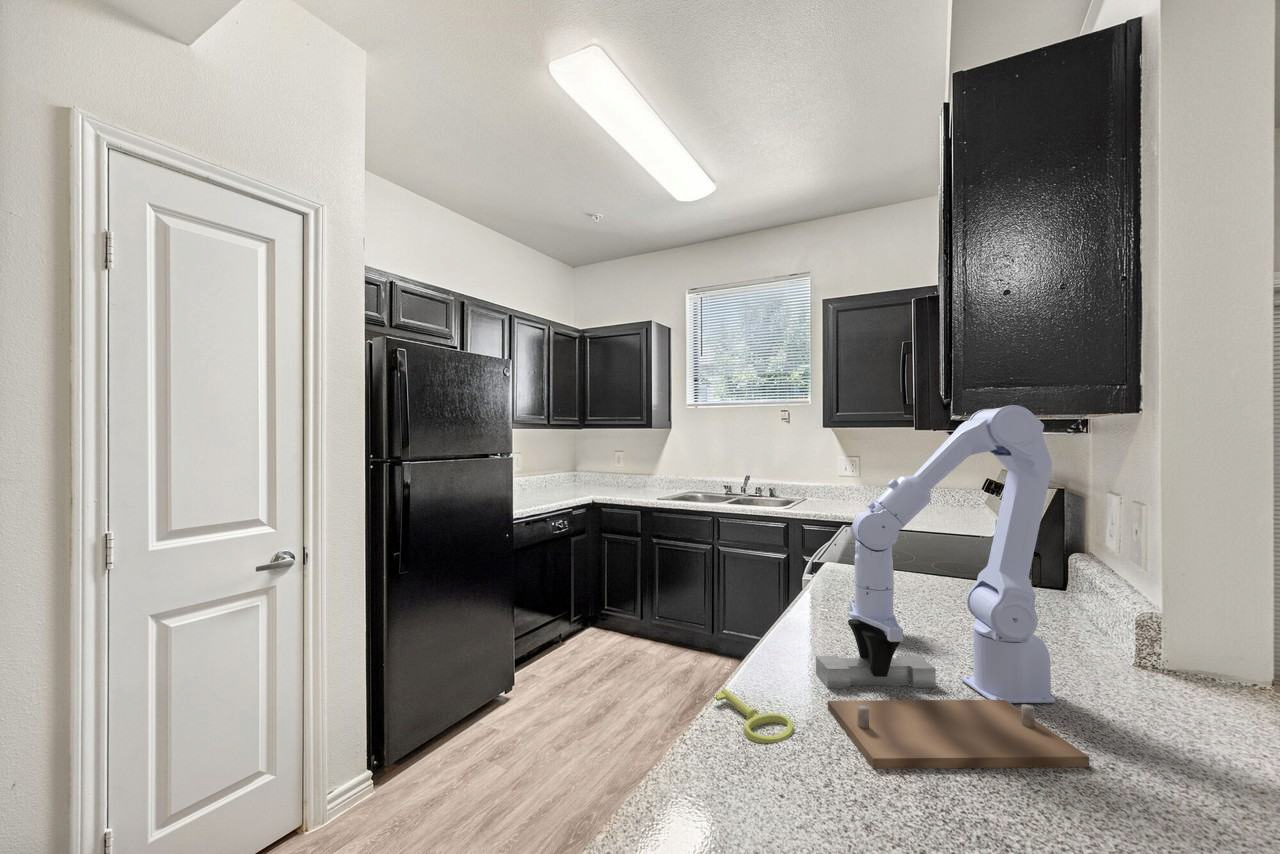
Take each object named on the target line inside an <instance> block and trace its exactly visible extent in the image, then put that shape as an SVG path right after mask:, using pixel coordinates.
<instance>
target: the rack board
mask: <svg viewBox="0 0 1280 854" xmlns="http://www.w3.org/2000/svg"><path fill="white" fill-rule="evenodd" d="M1020 706H1021V707H1020V708H1018V707H1017V706H1015V705H1014V704H1013V703H1009V702H1008V701H1006V700H989V699H916V700H915V699H904V700H903V699H901V700H900V699H898V700H897V699H895V700H894V699H892V700H889V699H888V700H885V699H884V700H883V699H882V700H881V699H880V700H878V699H877V700H874V699H873V700H872V699H871V700H863V699H860V700H827V710H828V711H829V713H830V714H831V715H832V717H833V718H834V720H836V722H837V723H838V724H839V726H840V727H841V728H842V730H843V731H844V733H846V735H847V737H848V738H849V739H850V740H851V742H852V743H853V744H854V745H855V747H856V748H857V750H858V752H860V753H861V755H862V756H863V758H864V759H865V760H866V761H867V763H868V764H869V765H870V767H871V768H872V769H875V770H880V769H881V770H883V769H884V770H888V769H889V770H893V769H896V770H897V769H899V770H900V769H990V768H991V769H993V768H995V769H996V768H997V769H998V768H999V769H1002V768H1003V769H1005V768H1007V769H1008V768H1013V769H1014V768H1015V769H1017V768H1021V769H1022V768H1089V767H1090V756H1089V755H1087V754H1086V753H1085V752H1083V751H1081V750H1080V749H1078V748H1077V747H1076V746H1074V745H1073V744H1071V743H1070V742H1068V741H1067V740H1066V739H1064V738H1063V737H1061V736H1060V735H1058V734H1057V733H1055V732H1053V731H1052V730H1051V729H1049V728H1048V727H1046V726H1045V725H1044V724H1041V723H1040V722H1038V720H1036V719H1035V715H1036V714H1035V707H1034V706H1032V705H1030V704H1027V703H1021V705H1020Z"/></svg>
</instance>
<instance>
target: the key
mask: <svg viewBox="0 0 1280 854" xmlns="http://www.w3.org/2000/svg"><path fill="white" fill-rule="evenodd" d="M716 694H717V693H713V695H712V697H713V698H714V696H715V695H716ZM714 699H715V700H716V701H717V702H720V701H723V700H726V701H727V702H728V703H729V704H730V705H732V706H733V707H734V708H735V709H737V711H739V712H740V713H742V715H743V716H745V717H746V722H745V723H744V727H743V734H744V736H745V738H747V739H749V741H753V742H755V743H758V744H759V743H761V744H772V743H777V742H778V743H779V742H781V741H784V740H786V739H788V738H790V737H792V735H793V734H794V730H795V729H794V724H793V722H792V720H791V719H790V718H789V717H788V716H786V715H783V714H780V713H773V712H772V713H771V712H770V713H764V714H762V713H761V714H759V711H758V710H757V709H756V708H751V707H749V706H748V705H747V704H746V703H744V702H743V701H742V700H741V699H740V698H739V697H737V696H736V695H734V694H733V693H732V692H730V690H728V689H727V688H722V689H721V691H720V692H718V694H717V695H716V697H715V698H714ZM770 723H771V724H772V723H777V724H783V725H784V726H785V727H786V728H785V730H783V731H782V732H780V733H776V734H774V735H762V734H757V733H756V732H754V731H752V729H753V728H756V727H758V726H761V725H765V724H770Z"/></svg>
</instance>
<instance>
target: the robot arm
mask: <svg viewBox="0 0 1280 854" xmlns="http://www.w3.org/2000/svg"><path fill="white" fill-rule="evenodd" d="M1044 428H1045V424H1044V423H1043V422H1042V421H1041V420H1040V419H1039V418H1038V417H1037V416H1036V415H1035V414H1034V413H1033V412H1032V411H1031V410H1029V409H1028V408H1026V407H1024V406H1022V405H1016V404H1014V405H1012V404H1010V405H1006V406H1002V407H998V408H982V409H979V410H978V411H975V412H974V413H972V414H971V416H970V418H969V419H968V420H965V421H964V422H962V423H961V424H959V425H958V427H957V428H956V429H955V430H954V431H953V433H951V435H950V436H948V437H947V439H946V440H945V441H944V442H943V443H942V444H941V445H940V446H939V447H938V448H937V449H936V450H935V452H934V453H933V454H931V456H930V457H929V458H928V459H927V460H926V461H925V462H924V463H923V465H922V466H921V467H920V468H919V469H918V470H917V471H916V472H915V473H914V474H913V475H902V476H900V477H899V478H897V480H896V479H895V478H894V479H893V478H892V479H890V480H889V482H888V483H887V484H886V485H887V486H888V488H887V489H886V490H885V491H884V492H883V493H882V494H881V495H880V496H878V498H877V499H876V500H875V501H874V502H872V501H870V502H869V503H868V504H867V505H866V507H867V508H868V509H869V510H865V511H863V510H862V511H860V512H858V513H857V514H856V516H855V517H854V518H853V520H852V524H851V525H850V531H851V535H852V536H853V538H854V539H856V540H855V541H854V543H855V546H854V549H855V554H854V599H849V600H848V602H849V603H848V606H849V607H848V610H849V611H847V616H848V618H849V619H848V620H847V624H848V626H849V628H850V629H851V631H852V634H853V636H854V638H855V642H856V646H857V650H858V655H859V658H870V665H871V671H872V674H873V676H874V677H887V675H888V671H889V668H890V664H891V660H892V658H894V654H895V652H896V650H897V648H898V646H899V645H900V644H901V643H902V642H904V628H902V627H901V626H900V624H899V623H898V620H897V618H896V615H895V614H894V596H893V571H894V567H893V566H894V559H893V545H895V544H896V543H897V542H898V539H899V531H900V530H902V529H904V528H905V527H906V526H907V525H908V524H909V523H910V522H911V521H912V519H914V518H915V517H916V516H917V515H918V514H919V513H920V512H921V511H922V510H923V509H924V508H925V507H927V506H928V505H929V504H930V503H931V497H932V496H931V492H932V489H933V488H934V487H935V486H936V485H938V484H939V483H940V482H941V481H942V480H943V479H944V478H946V477H947V476H948V475H949V474H950V473H951V472H952V471H954V470H955V469H956V468H957V467H958V466H960V464H962V463H963V462H964V461H966V460H967V459H968V458H969V457H970V456H973V455H978V454H982V453H986V452H990V453H991V454H992V455H994V456H995V457H996V458H997V459H998V461H1000V463H1001V464H1002V465H1003V466H1004V467H1005V468H1006V470H1007V473H1006V476H1005V477H1006V478H1005V482H1004V487H1003V491H1002V497H1001V501H1000V506H999V510H998V515H997V520H996V525H995V529H994V530H995V531H994V534H993V539H992V543H991V549H990V551H989V552H990V553H989V556H988V562H987V565H986V566H985V567H984V568H983V569H982V570H981V571H980V572H979V573H978V575H977V579H976V582H975V584H974V585H973V586H972V587H971V589H969V591H968V593H967V596H966V607H967V609H968V611H969V612H970V613H971V615H973V617H974V622H973V624H972V635H973V637H972V638H973V640H972V642H973V643H972V645H973V646H972V647H973V648H972V649H973V650H972V652H973V655H972V657H973V676H961V677H960V680H961V681H962V682H963V683H965V684H966V685H968V686H969V687H970V688H972V689H973V690H975V691H976V692H978V694H980V695H981V696H983V697H984V698H986V700H1006V701H1008V702H1009V703H1011V704H1055V703H1056V699H1055V698H1054V697H1053V696H1052V685H1051V684H1052V683H1051V680H1052V678H1051V675H1052V673H1051V671H1052V670H1051V656H1050V652H1049V650H1048V646H1047V645H1046V643H1045V642H1044V641H1043V640H1042V639H1041V637H1040V636H1038V635H1036V634H1034V633H1036V630H1037V628H1038V624H1039V619H1038V614H1037V612H1036V607H1035V606H1036V605H1035V603H1036V598H1037V595H1036V591H1035V589H1034V588H1033V585H1032V583H1031V581H1030V578H1029V576H1030V572H1031V567H1032V563H1033V558H1034V552H1035V549H1036V545H1037V540H1038V536H1039V535H1038V534H1039V531H1040V526H1041V520H1042V517H1043V512H1044V507H1045V503H1046V499H1047V493H1048V488H1049V483H1050V479H1051V475H1052V469H1053V461H1052V458H1051V455H1050V452H1049V449H1048V447H1047V443H1046V441H1045V438H1044V435H1043V434H1044Z"/></svg>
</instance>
